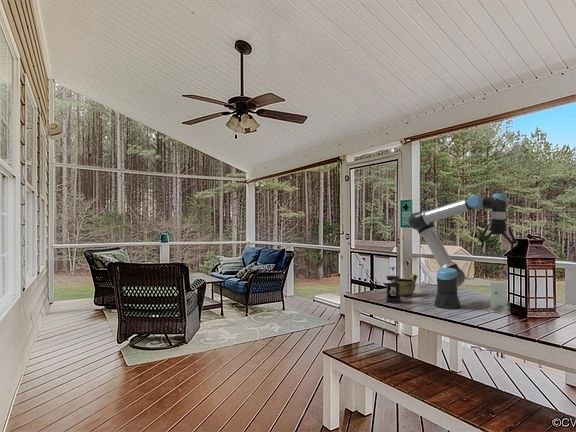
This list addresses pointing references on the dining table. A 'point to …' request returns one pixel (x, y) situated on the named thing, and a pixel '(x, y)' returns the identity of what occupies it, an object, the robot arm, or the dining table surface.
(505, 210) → the robot arm
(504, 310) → the cradle
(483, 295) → the dining table surface
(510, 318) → the dining table surface
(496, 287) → the flat rectangular panel
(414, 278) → the ceramic bowl
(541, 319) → the dining table surface
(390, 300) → the french press
